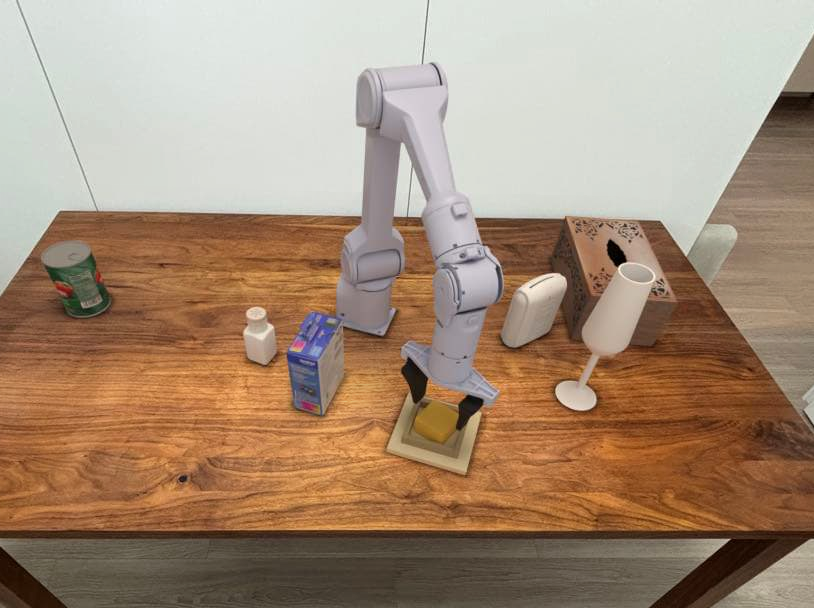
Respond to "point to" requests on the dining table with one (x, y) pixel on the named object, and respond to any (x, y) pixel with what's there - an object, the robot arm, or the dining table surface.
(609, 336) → the champagne flute
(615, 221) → the tissue box cover
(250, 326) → the pepper shaker
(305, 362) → the ink cartridge box
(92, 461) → the dining table surface
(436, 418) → the mustard block
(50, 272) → the canned tomato
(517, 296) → the photo printer
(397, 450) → the base pad
